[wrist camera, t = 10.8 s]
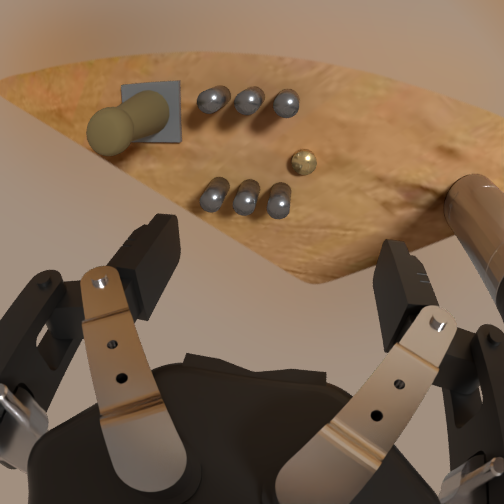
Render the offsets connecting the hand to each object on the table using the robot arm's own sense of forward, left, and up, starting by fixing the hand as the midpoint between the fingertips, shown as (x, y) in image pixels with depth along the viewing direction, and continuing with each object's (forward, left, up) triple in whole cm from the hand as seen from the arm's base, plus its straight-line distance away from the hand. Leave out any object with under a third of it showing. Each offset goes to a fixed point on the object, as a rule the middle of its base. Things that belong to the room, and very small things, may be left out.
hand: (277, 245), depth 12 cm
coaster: (+18, 0, -28) cm, 33 cm away
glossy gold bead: (-1, +6, -28) cm, 29 cm away
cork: (+18, 0, -28) cm, 33 cm away
